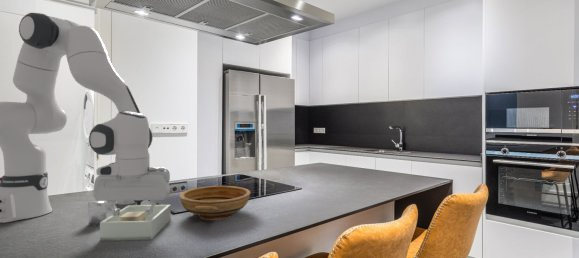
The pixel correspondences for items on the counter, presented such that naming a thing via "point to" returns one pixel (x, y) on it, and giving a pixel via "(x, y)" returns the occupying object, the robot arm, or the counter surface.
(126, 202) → the candle
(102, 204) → the aluminium cylinder
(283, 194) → the counter surface
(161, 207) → the tote
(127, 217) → the maple cube
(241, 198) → the wooden bowl
